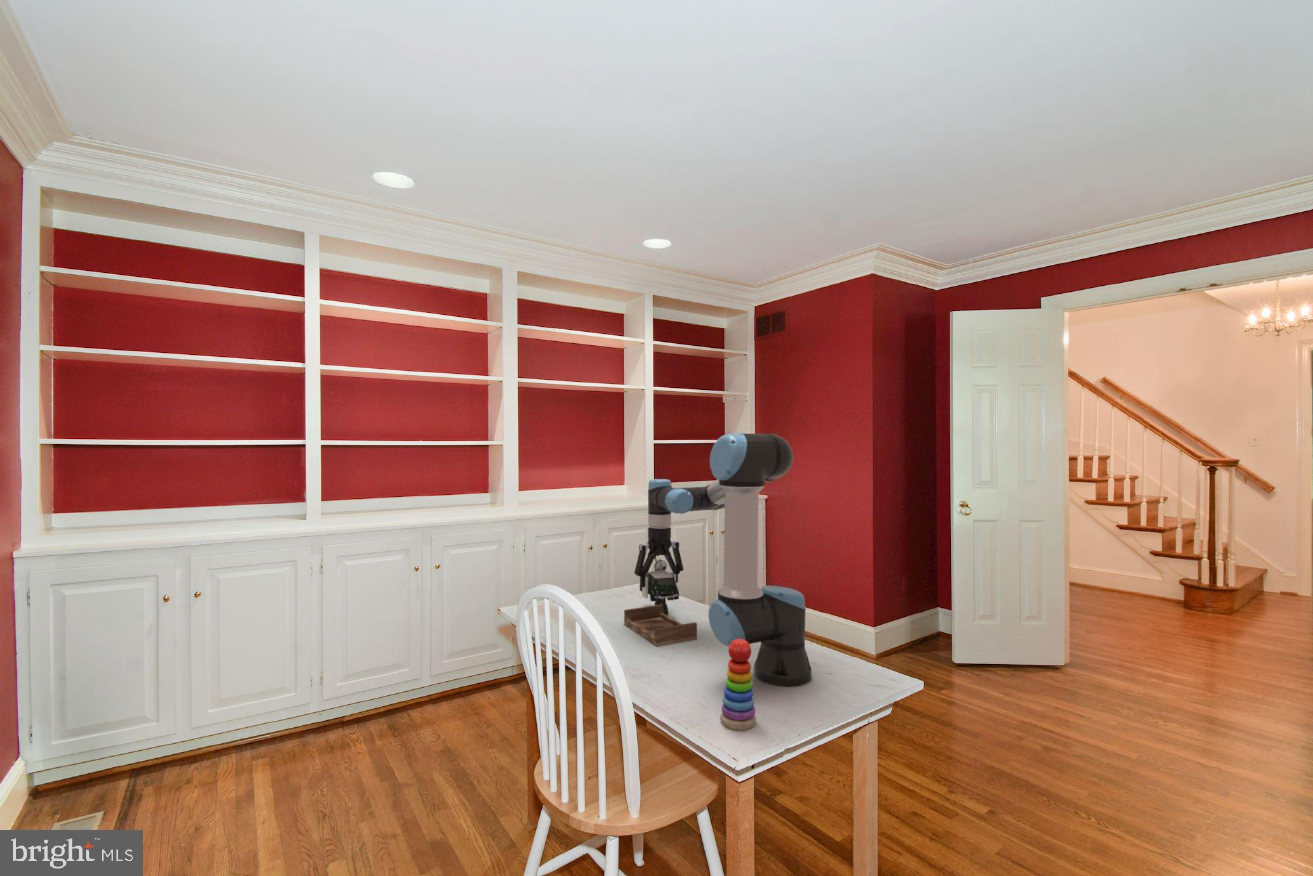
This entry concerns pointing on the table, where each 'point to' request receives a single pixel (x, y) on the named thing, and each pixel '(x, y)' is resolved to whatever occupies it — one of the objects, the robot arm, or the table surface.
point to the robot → (662, 566)
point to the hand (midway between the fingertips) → (659, 594)
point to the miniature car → (661, 585)
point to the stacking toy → (738, 688)
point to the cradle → (658, 626)
